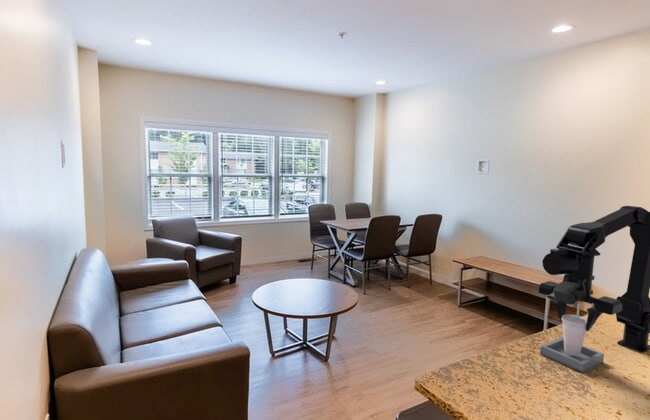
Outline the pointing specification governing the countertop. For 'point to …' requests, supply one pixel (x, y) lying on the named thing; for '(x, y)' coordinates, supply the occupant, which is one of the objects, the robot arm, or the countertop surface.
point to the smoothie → (573, 332)
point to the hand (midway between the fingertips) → (574, 326)
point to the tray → (572, 356)
